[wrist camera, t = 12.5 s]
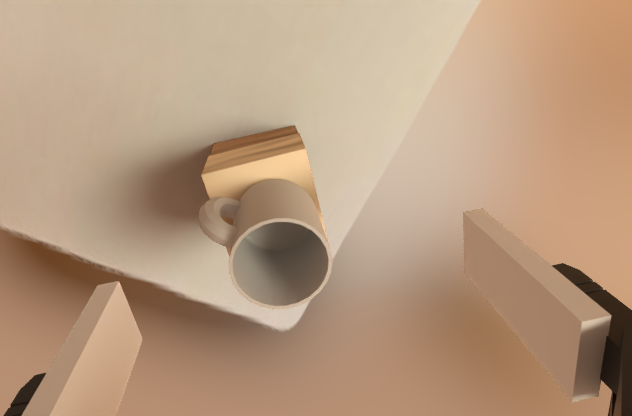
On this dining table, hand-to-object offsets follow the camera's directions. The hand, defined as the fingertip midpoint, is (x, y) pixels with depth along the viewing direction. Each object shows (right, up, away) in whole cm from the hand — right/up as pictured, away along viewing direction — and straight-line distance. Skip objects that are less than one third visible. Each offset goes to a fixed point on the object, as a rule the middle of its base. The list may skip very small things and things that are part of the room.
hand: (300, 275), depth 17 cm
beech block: (-4, +5, +27) cm, 28 cm away
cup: (-4, +2, +22) cm, 22 cm away
